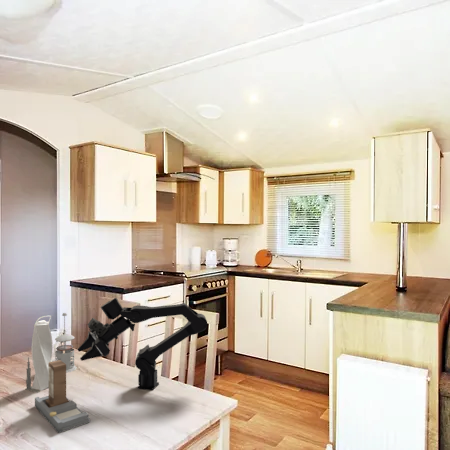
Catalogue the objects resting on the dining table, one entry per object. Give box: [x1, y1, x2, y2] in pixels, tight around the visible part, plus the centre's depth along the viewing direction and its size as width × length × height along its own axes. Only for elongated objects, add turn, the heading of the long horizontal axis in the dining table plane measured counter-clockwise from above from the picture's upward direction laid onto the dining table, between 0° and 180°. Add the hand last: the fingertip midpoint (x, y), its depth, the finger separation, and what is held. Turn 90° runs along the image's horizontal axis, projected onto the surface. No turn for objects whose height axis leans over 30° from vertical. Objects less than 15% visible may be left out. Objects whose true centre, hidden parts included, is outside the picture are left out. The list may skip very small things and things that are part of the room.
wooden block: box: [46, 359, 70, 408], centre depth 138 cm, size 6×6×14 cm
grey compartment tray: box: [34, 395, 91, 434], centre depth 133 cm, size 24×10×4 cm, turn 41°
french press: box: [54, 312, 78, 374], centre depth 176 cm, size 10×12×25 cm
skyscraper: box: [25, 314, 53, 394], centre depth 155 cm, size 8×8×28 cm
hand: (79, 354), depth 148 cm, fingers open, 9 cm apart
